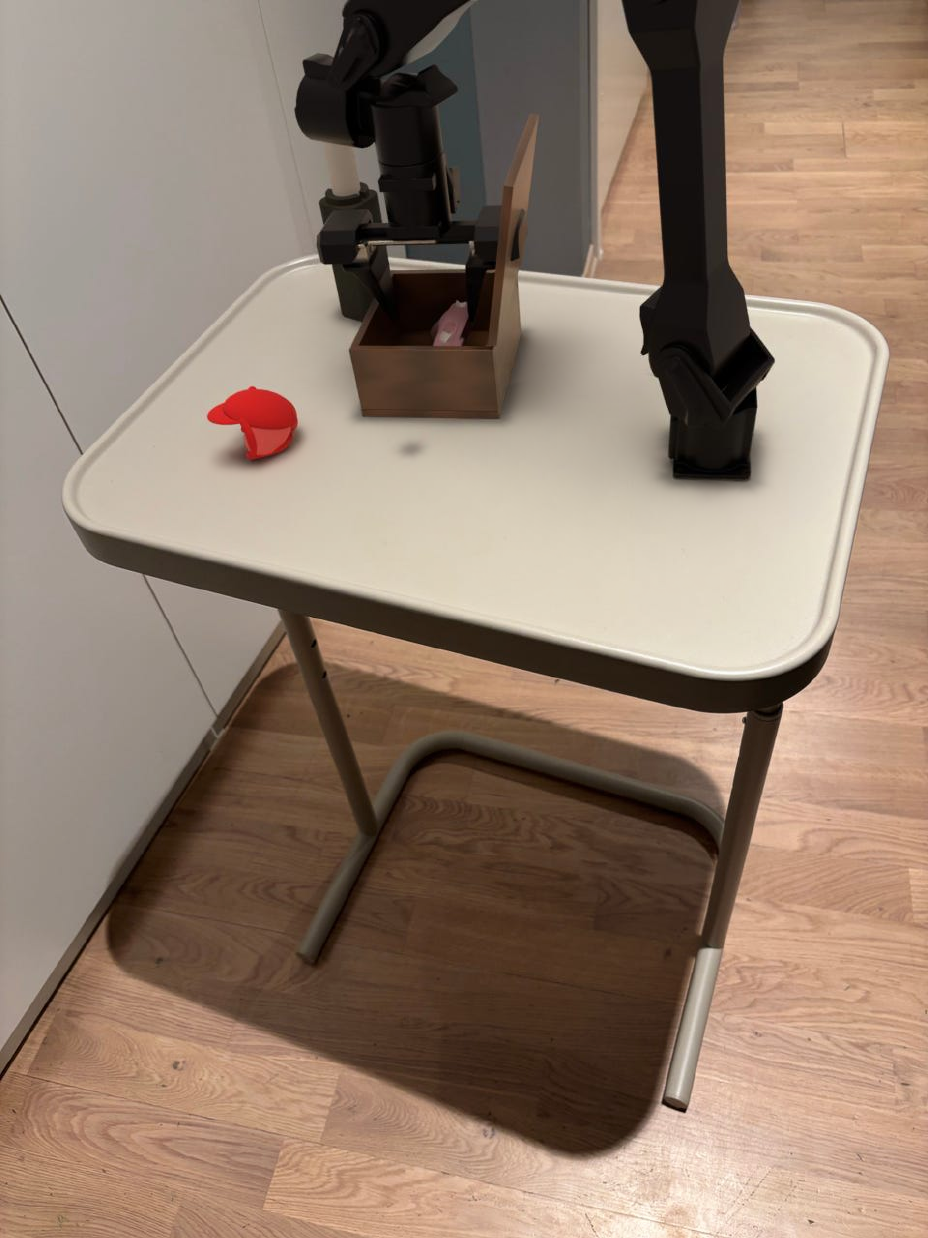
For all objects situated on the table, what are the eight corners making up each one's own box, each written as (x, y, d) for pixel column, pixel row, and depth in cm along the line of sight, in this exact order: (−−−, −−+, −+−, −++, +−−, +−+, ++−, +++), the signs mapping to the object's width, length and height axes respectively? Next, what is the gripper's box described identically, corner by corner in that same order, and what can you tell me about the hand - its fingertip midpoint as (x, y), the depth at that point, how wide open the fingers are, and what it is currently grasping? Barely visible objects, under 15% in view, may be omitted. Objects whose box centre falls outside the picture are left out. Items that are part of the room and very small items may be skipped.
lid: (503, 184, 73) (513, 186, 73) (530, 112, 84) (539, 113, 84) (487, 345, 84) (496, 346, 84) (513, 263, 94) (520, 264, 94)
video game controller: (447, 406, 93) (468, 349, 87) (404, 388, 92) (422, 330, 87) (470, 352, 99) (490, 296, 94) (429, 335, 99) (448, 278, 94)
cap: (282, 416, 94) (267, 362, 89) (313, 440, 90) (299, 386, 86) (211, 450, 91) (192, 397, 87) (241, 477, 87) (222, 423, 83)
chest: (362, 416, 92) (348, 349, 87) (398, 333, 103) (387, 269, 97) (498, 418, 90) (492, 350, 84) (521, 333, 100) (517, 267, 95)
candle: (366, 295, 110) (321, 55, 92) (400, 304, 107) (360, 59, 89) (337, 315, 107) (285, 72, 89) (371, 324, 105) (325, 77, 87)
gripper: (530, 114, 84) (539, 279, 95) (333, 124, 88) (363, 281, 99) (512, 163, 77) (524, 336, 88) (297, 172, 81) (334, 336, 92)
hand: (433, 320), depth 92 cm, fingers open, 7 cm apart
